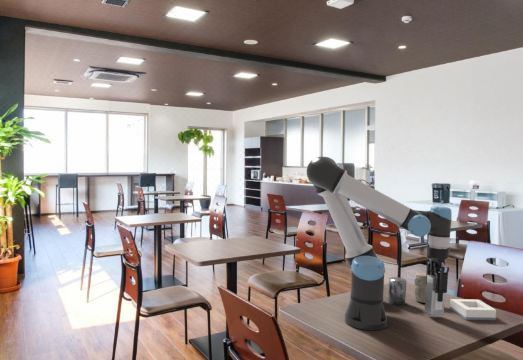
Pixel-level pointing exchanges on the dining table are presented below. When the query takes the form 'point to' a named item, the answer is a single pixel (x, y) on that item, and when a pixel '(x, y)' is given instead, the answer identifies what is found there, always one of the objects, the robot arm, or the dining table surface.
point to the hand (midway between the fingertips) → (434, 306)
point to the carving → (420, 287)
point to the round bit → (397, 291)
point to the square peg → (432, 296)
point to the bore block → (472, 309)
